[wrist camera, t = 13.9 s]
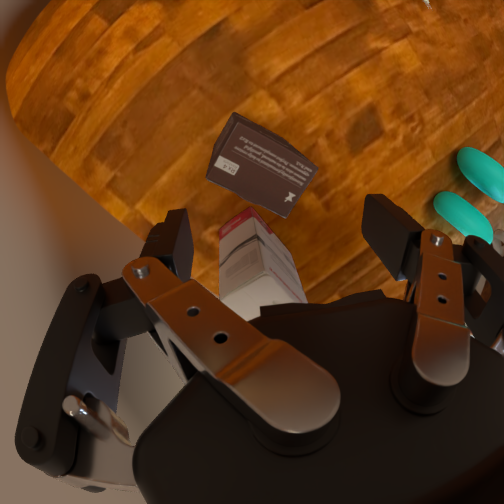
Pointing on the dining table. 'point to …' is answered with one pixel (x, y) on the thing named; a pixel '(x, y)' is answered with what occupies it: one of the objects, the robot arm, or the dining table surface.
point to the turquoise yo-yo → (484, 178)
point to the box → (259, 166)
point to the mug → (500, 242)
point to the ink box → (255, 267)
